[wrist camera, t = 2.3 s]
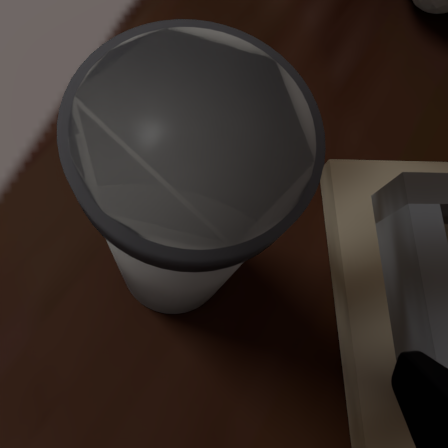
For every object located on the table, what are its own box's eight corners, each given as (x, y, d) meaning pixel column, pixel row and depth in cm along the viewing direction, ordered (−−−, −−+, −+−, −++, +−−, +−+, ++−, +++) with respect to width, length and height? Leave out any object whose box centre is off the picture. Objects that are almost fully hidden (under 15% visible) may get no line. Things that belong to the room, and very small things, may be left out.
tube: (231, 316, 21) (339, 258, 8) (115, 320, 20) (46, 262, 7) (225, 210, 22) (311, 28, 10) (118, 209, 21) (65, 10, 9)
